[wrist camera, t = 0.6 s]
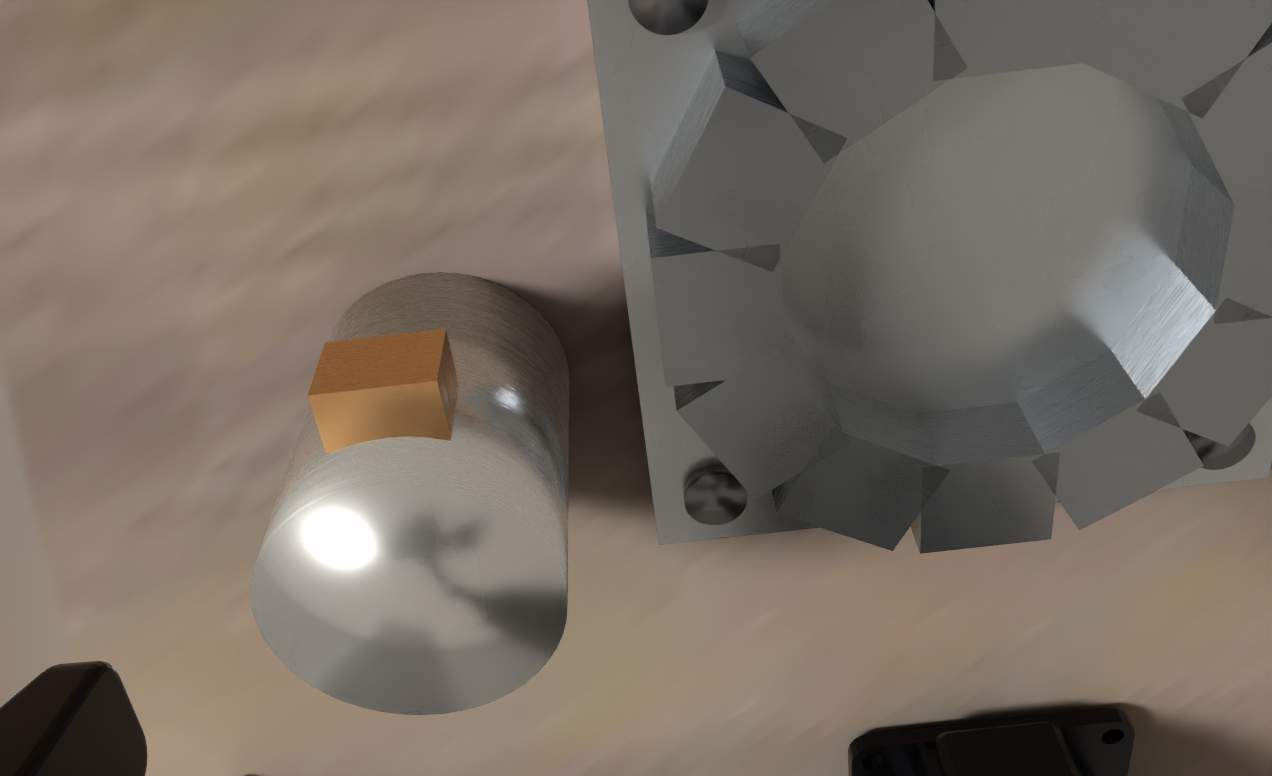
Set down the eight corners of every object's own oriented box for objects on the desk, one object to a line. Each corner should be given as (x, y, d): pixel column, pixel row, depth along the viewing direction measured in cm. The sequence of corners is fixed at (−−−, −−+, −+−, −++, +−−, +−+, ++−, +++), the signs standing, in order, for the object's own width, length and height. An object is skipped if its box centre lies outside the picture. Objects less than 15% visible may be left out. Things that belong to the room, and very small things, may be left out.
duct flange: (1254, 459, 24) (1308, 530, 22) (657, 525, 25) (663, 601, 23) (1396, -198, 18) (1492, -172, 16) (575, -95, 18) (576, -58, 16)
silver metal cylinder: (584, 462, 24) (586, 698, 19) (356, 487, 24) (298, 729, 19) (542, 214, 21) (531, 415, 16) (282, 245, 21) (189, 454, 16)
